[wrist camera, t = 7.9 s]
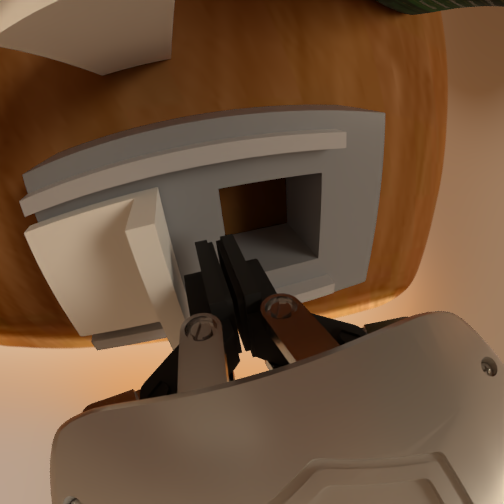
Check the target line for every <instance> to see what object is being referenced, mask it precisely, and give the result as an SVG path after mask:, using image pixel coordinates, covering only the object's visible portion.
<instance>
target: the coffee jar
mask: <svg viewBox="0 0 504 504" xmlns="http://www.w3.org/2000/svg"><path fill="white" fill-rule="evenodd" d="M376 1H378V2H379V3H381V4H383V5H384V6H387V7H389V8H391V9H393V10H396V11H399V12H401V13H405V14H410V15H415V14H423V13H430V12H436V11H441V10H448V9H454V8H462V7H475V6H504V0H376Z"/></svg>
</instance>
